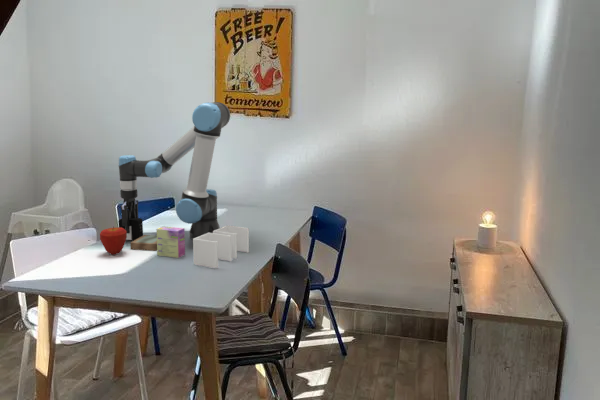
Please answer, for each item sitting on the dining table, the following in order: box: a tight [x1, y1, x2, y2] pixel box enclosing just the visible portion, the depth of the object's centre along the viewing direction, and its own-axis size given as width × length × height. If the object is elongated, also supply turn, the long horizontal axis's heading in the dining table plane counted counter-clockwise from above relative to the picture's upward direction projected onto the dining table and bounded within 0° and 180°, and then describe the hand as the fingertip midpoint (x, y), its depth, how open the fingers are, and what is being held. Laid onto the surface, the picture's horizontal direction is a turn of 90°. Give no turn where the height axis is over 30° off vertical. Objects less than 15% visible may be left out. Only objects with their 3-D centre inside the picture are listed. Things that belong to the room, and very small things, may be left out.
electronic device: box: [118, 217, 144, 242], centre depth 271 cm, size 4×10×10 cm, turn 79°
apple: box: [99, 226, 127, 256], centre depth 248 cm, size 11×11×12 cm
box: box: [156, 225, 186, 259], centre depth 246 cm, size 10×6×12 cm, turn 71°
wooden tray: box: [129, 234, 157, 252], centre depth 261 cm, size 12×14×3 cm
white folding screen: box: [192, 225, 250, 269], centre depth 243 cm, size 25×11×11 cm, turn 154°
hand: (131, 238), depth 272 cm, fingers closed on electronic device, 4 cm apart
